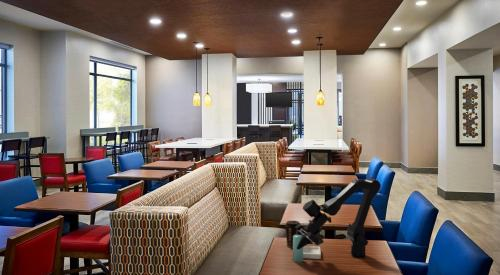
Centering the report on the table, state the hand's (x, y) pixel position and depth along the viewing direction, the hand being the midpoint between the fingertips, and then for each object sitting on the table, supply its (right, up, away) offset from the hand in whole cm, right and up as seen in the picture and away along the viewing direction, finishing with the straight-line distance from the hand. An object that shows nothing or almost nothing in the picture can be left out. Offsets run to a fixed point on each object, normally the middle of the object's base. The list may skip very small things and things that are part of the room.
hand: (295, 247), depth 194 cm
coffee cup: (+1, -6, +23) cm, 24 cm away
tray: (+8, -6, +10) cm, 14 cm away
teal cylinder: (+1, -7, +1) cm, 7 cm away
